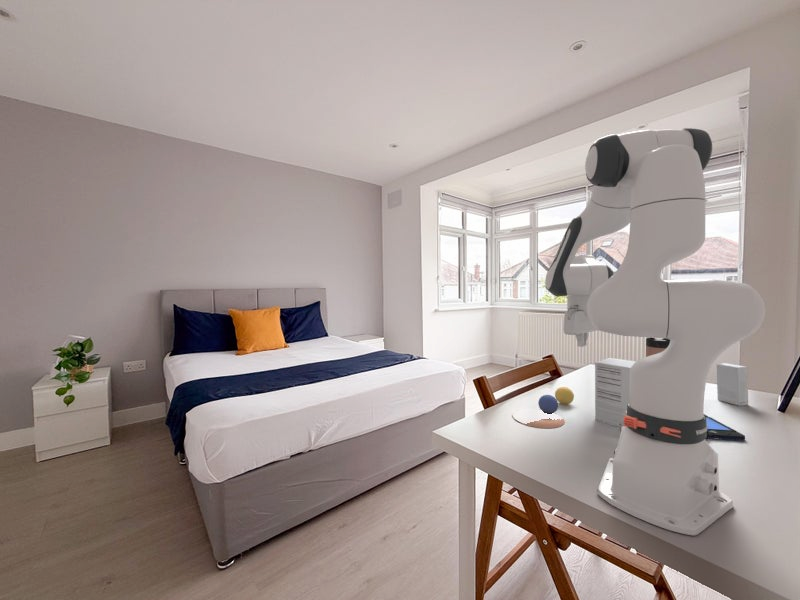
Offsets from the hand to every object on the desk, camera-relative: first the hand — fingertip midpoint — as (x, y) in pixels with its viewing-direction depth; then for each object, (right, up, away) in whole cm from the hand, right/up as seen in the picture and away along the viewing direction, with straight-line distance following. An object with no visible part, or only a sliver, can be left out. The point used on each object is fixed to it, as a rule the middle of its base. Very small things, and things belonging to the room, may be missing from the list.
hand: (582, 346), depth 110 cm
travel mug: (+26, -18, +1) cm, 32 cm away
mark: (-21, -19, -14) cm, 31 cm away
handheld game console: (+18, -19, -21) cm, 34 cm away
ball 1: (-16, -16, -10) cm, 25 cm away
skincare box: (+46, -18, -4) cm, 49 cm away
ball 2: (-7, -16, -3) cm, 17 cm away
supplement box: (+1, -19, -17) cm, 25 cm away
